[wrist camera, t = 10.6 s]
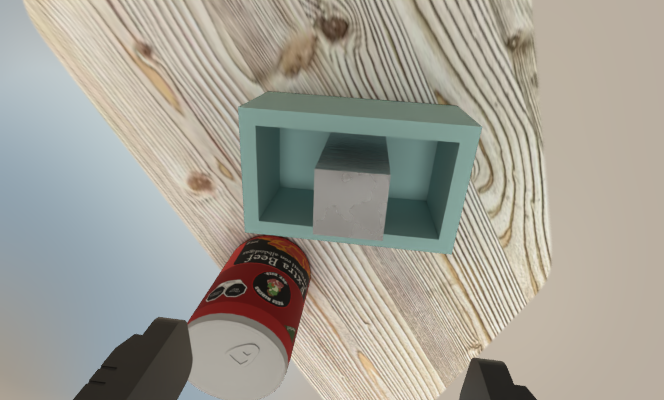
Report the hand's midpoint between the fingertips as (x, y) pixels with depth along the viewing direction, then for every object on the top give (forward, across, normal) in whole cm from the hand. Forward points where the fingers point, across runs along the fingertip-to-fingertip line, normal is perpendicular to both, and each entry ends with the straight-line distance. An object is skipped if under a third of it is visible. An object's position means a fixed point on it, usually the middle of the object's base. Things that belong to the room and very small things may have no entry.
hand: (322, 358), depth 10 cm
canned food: (+20, +7, +12) cm, 25 cm away
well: (+20, 0, 0) cm, 20 cm away
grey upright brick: (+19, 0, 0) cm, 19 cm away
